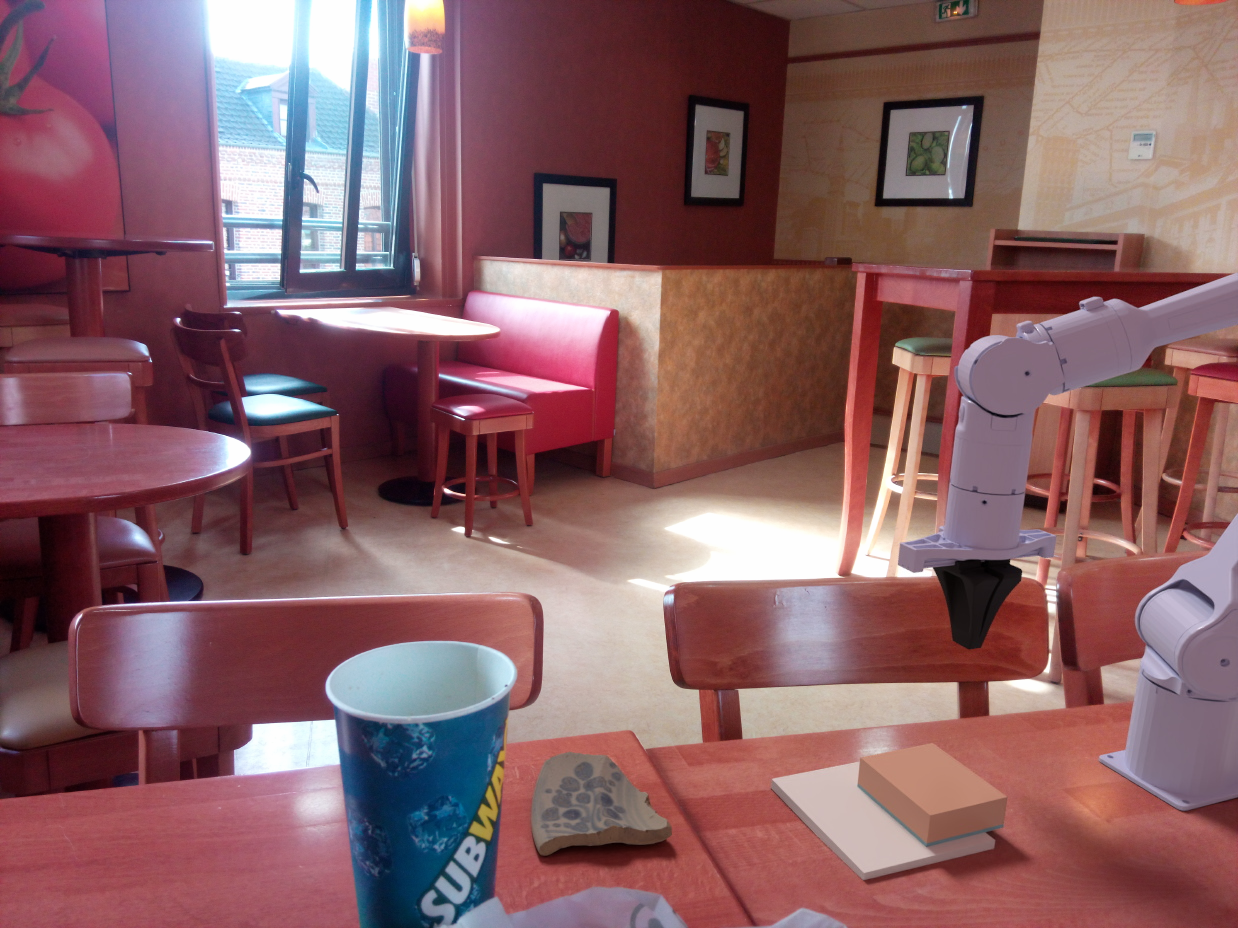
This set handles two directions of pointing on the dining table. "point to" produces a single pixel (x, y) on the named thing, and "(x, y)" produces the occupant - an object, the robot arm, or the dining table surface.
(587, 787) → the ceramic fragment
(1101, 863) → the dining table surface
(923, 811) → the glazed tile
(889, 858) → the pale grey mat
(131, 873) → the dining table surface
